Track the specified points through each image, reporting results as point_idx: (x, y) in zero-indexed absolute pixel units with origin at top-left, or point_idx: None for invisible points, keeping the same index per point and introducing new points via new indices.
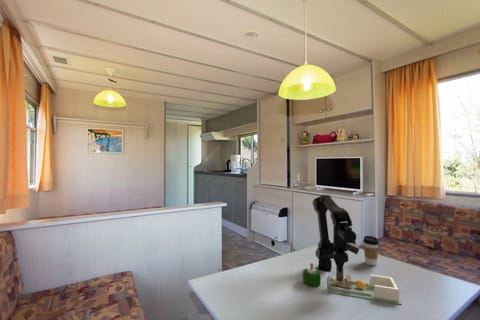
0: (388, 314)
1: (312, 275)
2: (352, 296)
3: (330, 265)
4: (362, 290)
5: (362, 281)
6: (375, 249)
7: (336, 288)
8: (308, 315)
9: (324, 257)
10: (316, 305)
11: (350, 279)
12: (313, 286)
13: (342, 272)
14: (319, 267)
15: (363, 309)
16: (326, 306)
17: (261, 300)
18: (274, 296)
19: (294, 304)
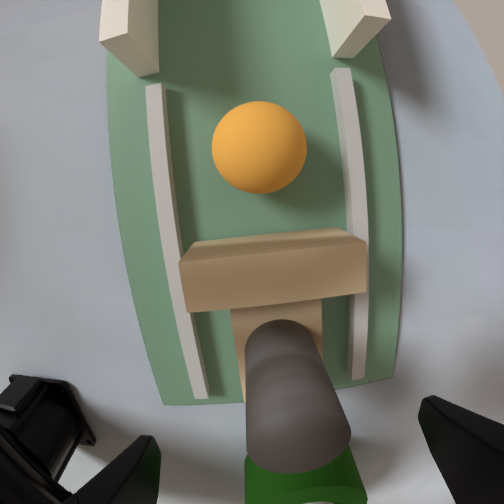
0: (476, 47)
1: (362, 501)
2: (399, 221)
3: (33, 398)
4: None
5: (269, 119)
6: None
7: (364, 344)
8: None
9: (33, 471)
10: (494, 380)
11: (318, 258)
12: (349, 448)
13: (323, 379)
14: (77, 440)
15: (495, 166)
16: (501, 345)
17: None
18: (439, 490)
19: None
